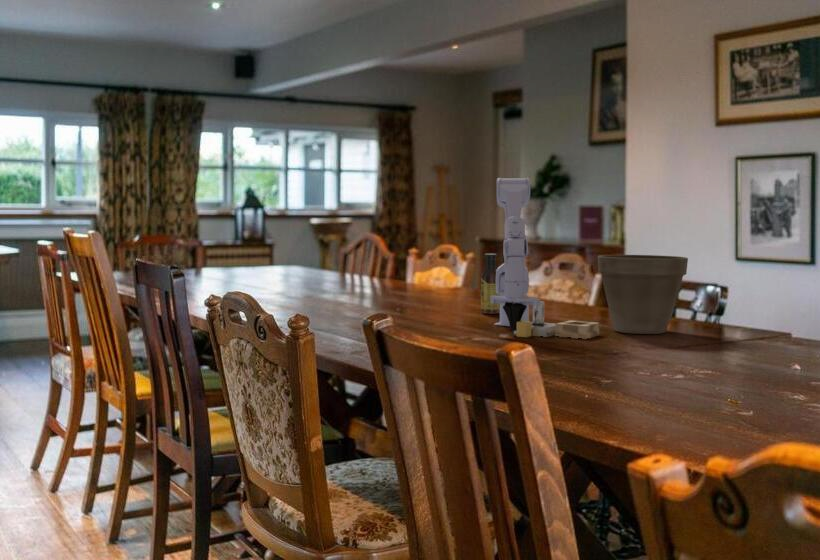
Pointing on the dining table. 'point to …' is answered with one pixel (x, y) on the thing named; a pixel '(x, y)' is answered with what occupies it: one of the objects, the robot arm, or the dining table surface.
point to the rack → (577, 329)
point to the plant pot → (641, 290)
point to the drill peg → (538, 314)
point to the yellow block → (523, 329)
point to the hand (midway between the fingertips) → (514, 330)
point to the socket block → (542, 330)
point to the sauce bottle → (489, 285)
